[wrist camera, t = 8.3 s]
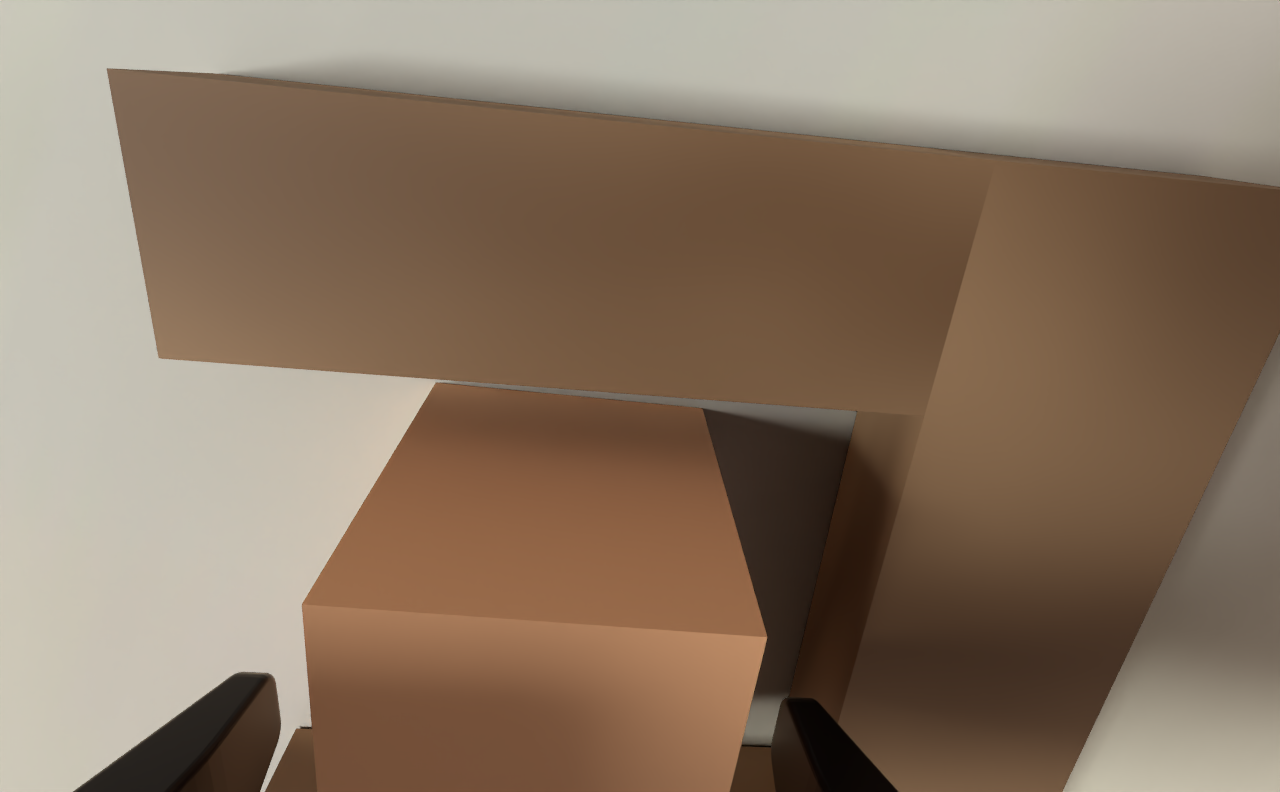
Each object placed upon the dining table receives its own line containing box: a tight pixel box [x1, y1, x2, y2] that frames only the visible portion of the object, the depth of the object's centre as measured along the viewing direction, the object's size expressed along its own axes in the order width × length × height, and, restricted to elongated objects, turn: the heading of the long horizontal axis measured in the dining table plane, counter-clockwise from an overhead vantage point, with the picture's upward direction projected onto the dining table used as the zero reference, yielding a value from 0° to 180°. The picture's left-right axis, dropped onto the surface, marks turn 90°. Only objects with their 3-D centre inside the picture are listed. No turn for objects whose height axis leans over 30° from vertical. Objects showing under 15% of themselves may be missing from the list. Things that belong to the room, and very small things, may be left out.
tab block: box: [302, 383, 767, 792], centre depth 10 cm, size 6×4×5 cm, turn 173°
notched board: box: [107, 69, 1280, 792], centre depth 11 cm, size 14×13×2 cm
